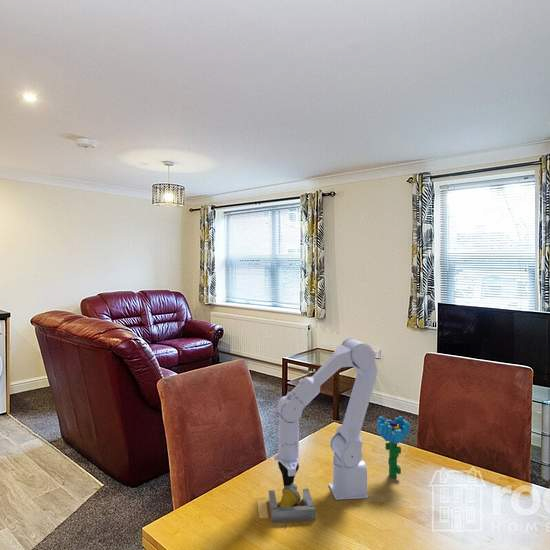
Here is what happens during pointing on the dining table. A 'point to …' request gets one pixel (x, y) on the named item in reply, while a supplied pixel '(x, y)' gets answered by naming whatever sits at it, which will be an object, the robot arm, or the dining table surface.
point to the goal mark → (262, 509)
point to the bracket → (292, 509)
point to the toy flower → (393, 440)
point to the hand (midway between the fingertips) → (288, 488)
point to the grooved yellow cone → (290, 496)
